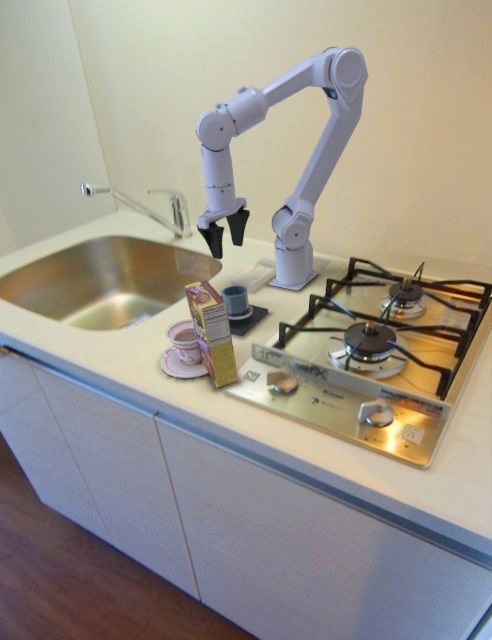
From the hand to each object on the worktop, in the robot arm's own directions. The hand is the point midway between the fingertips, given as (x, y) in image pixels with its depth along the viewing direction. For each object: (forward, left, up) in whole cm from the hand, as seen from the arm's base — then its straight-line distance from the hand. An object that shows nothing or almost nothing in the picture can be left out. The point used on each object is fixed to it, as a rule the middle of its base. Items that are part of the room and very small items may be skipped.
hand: (228, 251), depth 93 cm
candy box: (+27, +16, -10) cm, 33 cm away
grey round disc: (+12, +10, -6) cm, 17 cm away
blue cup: (+12, +10, -6) cm, 17 cm away
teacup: (+26, +9, -10) cm, 29 cm away
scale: (+11, +9, -9) cm, 16 cm away
